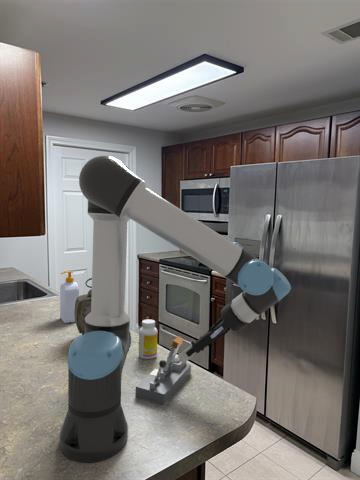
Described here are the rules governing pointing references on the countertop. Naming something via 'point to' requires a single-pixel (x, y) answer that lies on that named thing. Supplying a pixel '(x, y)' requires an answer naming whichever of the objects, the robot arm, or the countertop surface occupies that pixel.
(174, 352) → the paddle lever
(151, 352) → the supplement bottle
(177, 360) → the push button
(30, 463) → the countertop surface
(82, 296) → the tabletop clock
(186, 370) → the switch panel
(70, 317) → the soap bottle
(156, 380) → the toggle switch
